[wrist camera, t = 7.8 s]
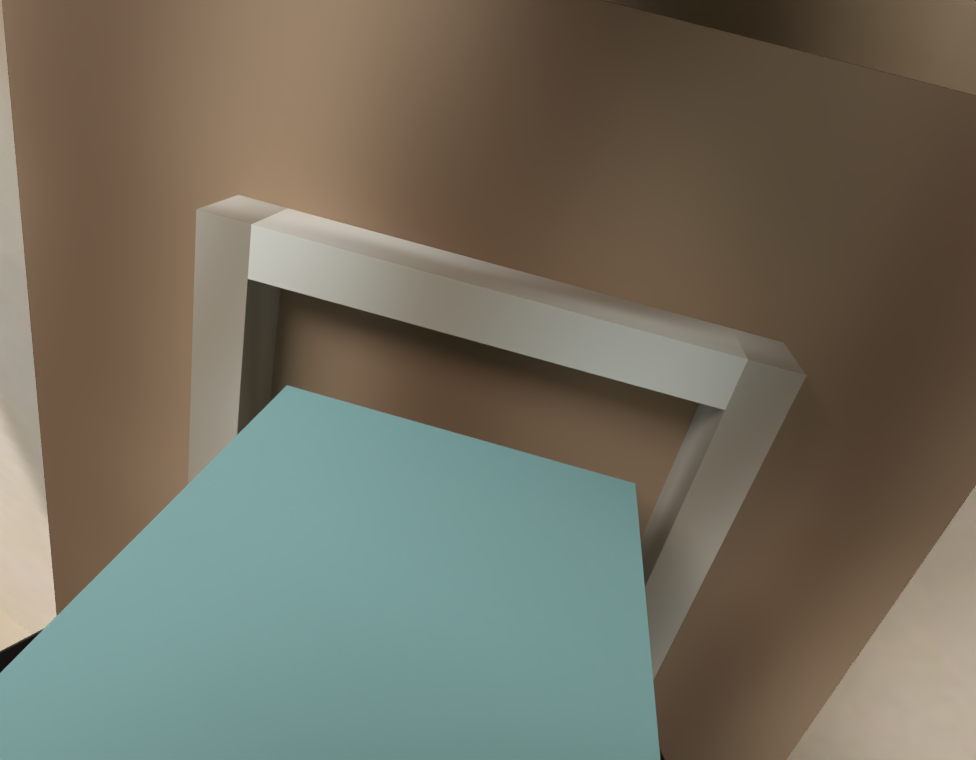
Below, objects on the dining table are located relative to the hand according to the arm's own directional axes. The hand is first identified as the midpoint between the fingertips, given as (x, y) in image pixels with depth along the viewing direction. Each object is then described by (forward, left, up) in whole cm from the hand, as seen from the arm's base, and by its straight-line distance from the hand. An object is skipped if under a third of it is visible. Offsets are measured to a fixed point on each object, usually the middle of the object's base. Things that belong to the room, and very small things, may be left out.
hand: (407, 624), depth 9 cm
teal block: (0, 0, -1) cm, 1 cm away
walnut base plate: (0, 0, -6) cm, 6 cm away
